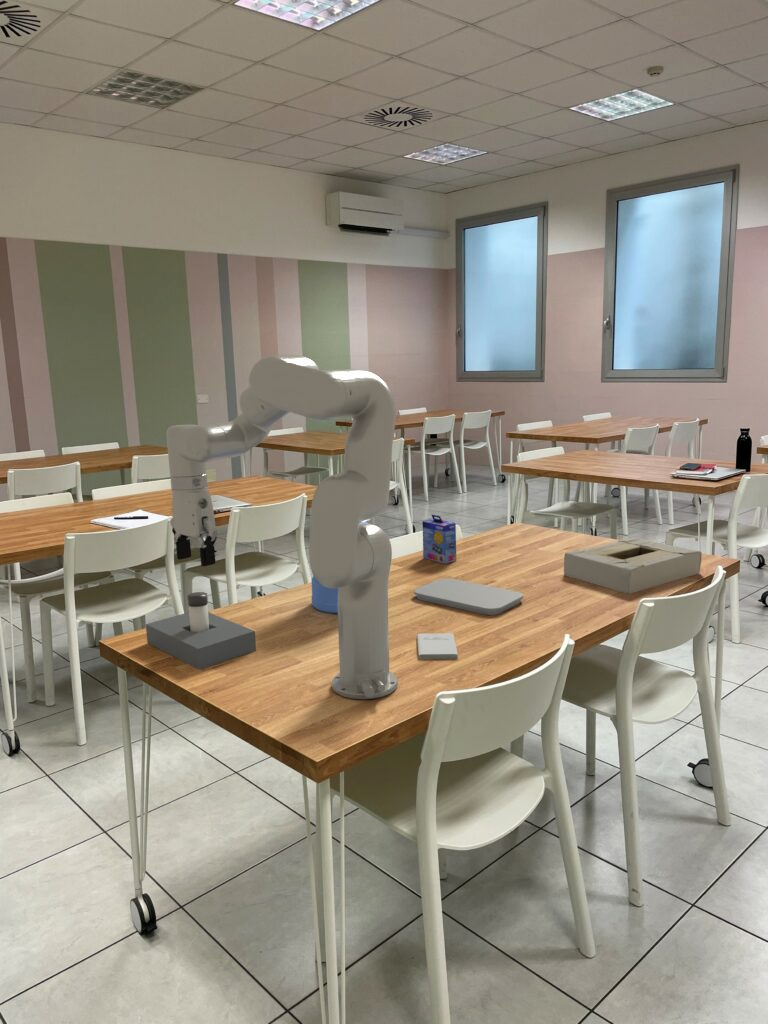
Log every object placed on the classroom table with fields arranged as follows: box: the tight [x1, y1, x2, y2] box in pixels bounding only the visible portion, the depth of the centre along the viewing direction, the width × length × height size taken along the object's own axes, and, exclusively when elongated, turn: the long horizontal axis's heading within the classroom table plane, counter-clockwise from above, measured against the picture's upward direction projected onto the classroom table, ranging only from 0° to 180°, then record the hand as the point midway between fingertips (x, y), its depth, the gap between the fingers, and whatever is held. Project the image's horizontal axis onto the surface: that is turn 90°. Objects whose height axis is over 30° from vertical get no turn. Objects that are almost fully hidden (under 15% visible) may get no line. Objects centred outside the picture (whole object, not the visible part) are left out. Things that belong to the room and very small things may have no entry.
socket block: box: [145, 611, 257, 670], centre depth 167 cm, size 22×14×4 cm, turn 45°
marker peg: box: [187, 591, 209, 634], centre depth 166 cm, size 4×4×12 cm
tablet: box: [413, 577, 524, 616], centre depth 197 cm, size 16×26×2 cm, turn 51°
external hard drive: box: [416, 632, 459, 660], centre depth 164 cm, size 2×8×12 cm
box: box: [563, 536, 703, 595], centre depth 216 cm, size 23×8×32 cm
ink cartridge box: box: [422, 514, 457, 565], centre depth 235 cm, size 10×6×14 cm, turn 42°
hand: (196, 561), depth 163 cm, fingers open, 9 cm apart
